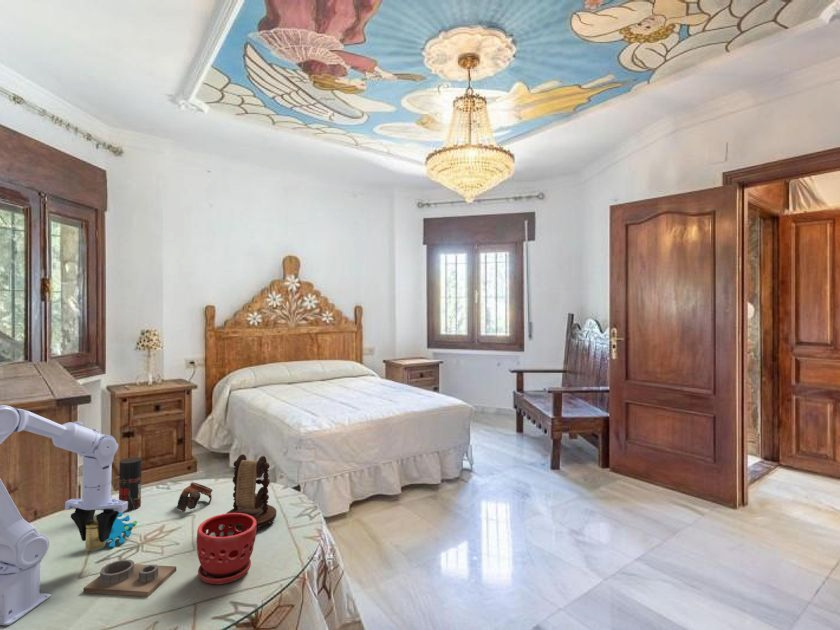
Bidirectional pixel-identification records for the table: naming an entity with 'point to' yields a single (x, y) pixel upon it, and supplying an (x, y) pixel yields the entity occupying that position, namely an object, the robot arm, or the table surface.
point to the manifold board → (129, 578)
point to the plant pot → (225, 547)
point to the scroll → (252, 491)
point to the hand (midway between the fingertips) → (95, 539)
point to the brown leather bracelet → (192, 496)
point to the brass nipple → (93, 536)
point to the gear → (120, 530)
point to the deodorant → (130, 482)
